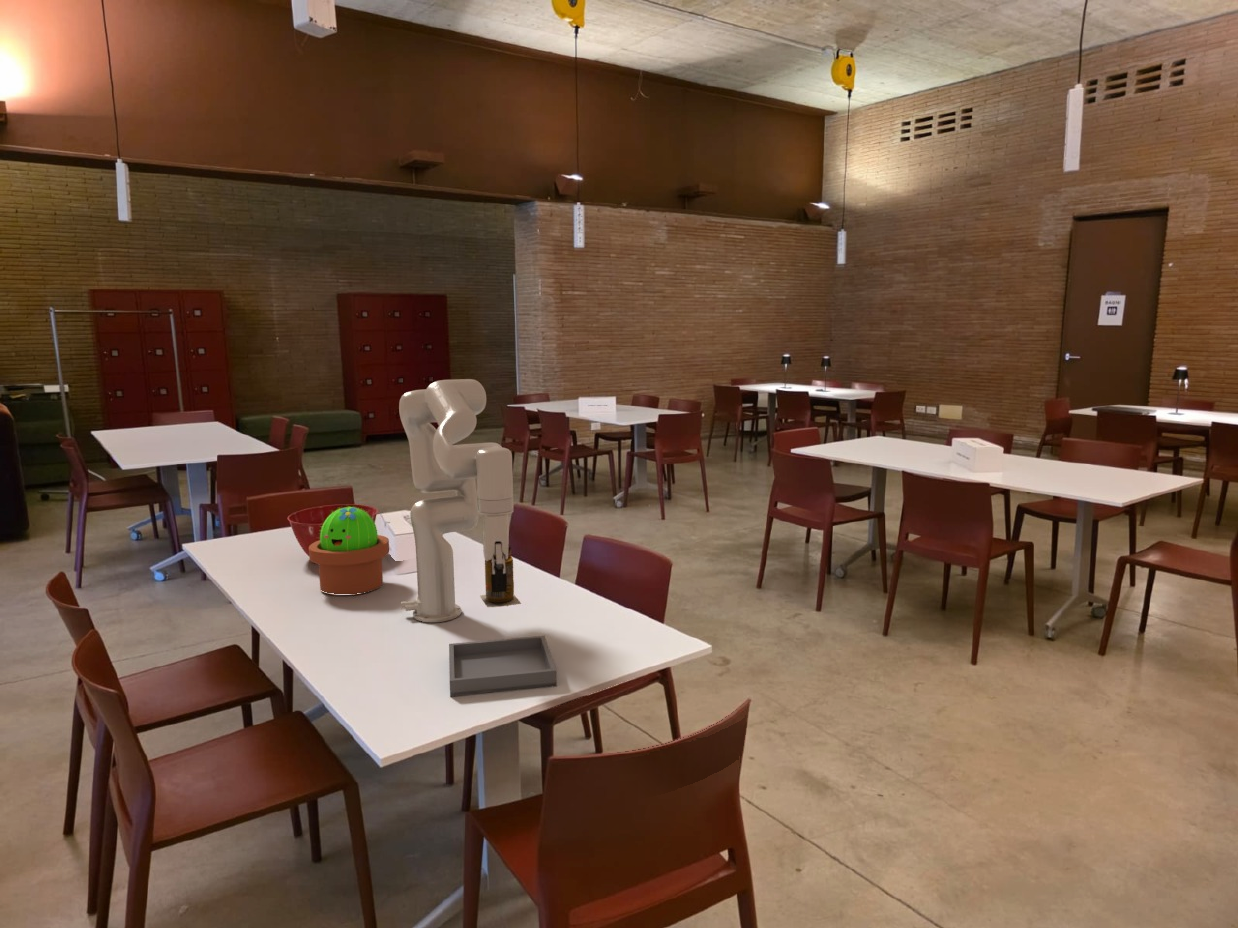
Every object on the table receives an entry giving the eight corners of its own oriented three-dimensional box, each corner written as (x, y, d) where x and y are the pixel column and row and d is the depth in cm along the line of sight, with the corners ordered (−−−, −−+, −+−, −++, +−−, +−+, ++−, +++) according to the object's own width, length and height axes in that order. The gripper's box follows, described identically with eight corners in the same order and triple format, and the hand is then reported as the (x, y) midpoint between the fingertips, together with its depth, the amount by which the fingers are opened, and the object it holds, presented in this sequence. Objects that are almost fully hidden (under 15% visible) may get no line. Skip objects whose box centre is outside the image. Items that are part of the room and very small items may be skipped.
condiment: (512, 592, 172) (510, 540, 170) (521, 604, 164) (519, 549, 162) (479, 596, 169) (477, 543, 167) (487, 608, 161) (485, 553, 159)
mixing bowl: (363, 569, 246) (361, 522, 244) (275, 569, 247) (271, 522, 244) (390, 546, 274) (388, 504, 272) (311, 546, 275) (308, 504, 272)
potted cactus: (334, 575, 240) (329, 497, 237) (401, 577, 238) (397, 498, 234) (298, 598, 219) (291, 512, 215) (372, 600, 217) (367, 514, 213)
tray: (450, 696, 158) (449, 680, 157) (449, 658, 177) (449, 643, 176) (556, 685, 162) (556, 670, 162) (544, 649, 182) (544, 635, 181)
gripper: (476, 498, 171) (478, 576, 174) (479, 515, 155) (482, 600, 158) (509, 496, 173) (512, 573, 176) (517, 513, 156) (519, 597, 159)
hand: (498, 585), depth 167 cm, fingers closed on condiment, 6 cm apart
